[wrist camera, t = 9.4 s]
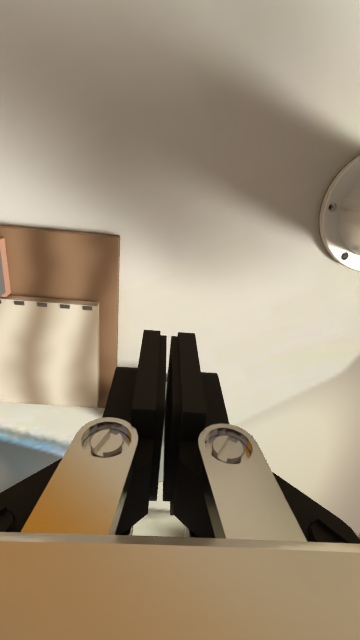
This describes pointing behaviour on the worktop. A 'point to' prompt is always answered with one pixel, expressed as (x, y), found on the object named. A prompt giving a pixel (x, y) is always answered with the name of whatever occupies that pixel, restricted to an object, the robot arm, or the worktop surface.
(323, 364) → the worktop surface
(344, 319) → the worktop surface
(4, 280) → the thin pink plank
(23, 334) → the pad
